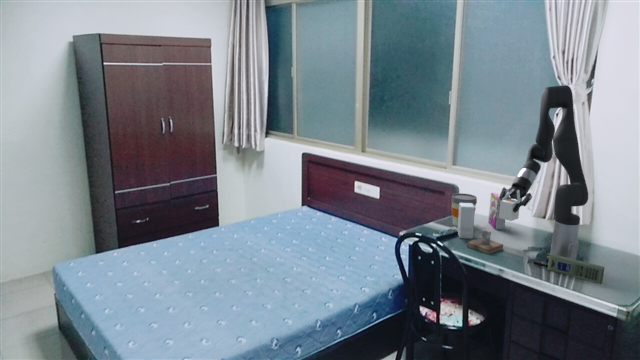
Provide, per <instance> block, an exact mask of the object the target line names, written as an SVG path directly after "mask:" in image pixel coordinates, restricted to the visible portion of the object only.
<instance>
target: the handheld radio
mask: <svg viewBox="0 0 640 360" xmlns="http://www.w3.org/2000/svg"><path fill="white" fill-rule="evenodd" d="M546 258H547V259H546V260H545V263H541V262H538V261H535V260H534V261H533V265H536V266H539V267H543V268H544V267H545V268H546V269H547V271H549V272H550V271H551V272H555V273H557V274H558V273H559V274H560V275H561V274H562V275H565V276H566V275H567V276H570V277H572V276H573V277H574V278H577V279H579V280H584V281H588V282H592V283H596V284H599V285H601V284H602V283H603V280H604V279H603V278H604V275H605V274H604V273H605V270H606V269H605V266H601V265H599V264H594V263H589V262H586V261H582V260H579V259H576V260H574V259H570V258H566V257H562V256H558V255H554V254H550V252H549V253H547V256H546ZM546 263H547V264H546Z"/></svg>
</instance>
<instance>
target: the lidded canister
mask: <svg viewBox="0 0 640 360" xmlns="http://www.w3.org/2000/svg"><path fill="white" fill-rule="evenodd" d="M477 197H478V196H476V195H473V194H470V193H462V192H461V193H453V194H452V195H451V200H450V201H451V206H450V207H451V209H450V211H451V215H452V224H453V225H454V226H455V227H458V216H459V203H473V205H474V207H475V210H476V208H477V207H476V204H477V201H478V199H477Z"/></svg>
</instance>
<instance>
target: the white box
mask: <svg viewBox="0 0 640 360" xmlns="http://www.w3.org/2000/svg"><path fill="white" fill-rule="evenodd" d="M516 203H517V200H516V199H505V200H502V201H500V211H499V218H502V219H505V221H509V222H512V221H515V220H518V219H519V215H520V214H519V213H520V209H519V210H518V211H517V212H516V213H515V212H513V208H514V207H515V205H516Z"/></svg>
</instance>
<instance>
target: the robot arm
mask: <svg viewBox="0 0 640 360" xmlns="http://www.w3.org/2000/svg"><path fill="white" fill-rule="evenodd" d="M573 97H574V96H573V91H572V89H571V86H569V85H567V84H566V85H565V84H564V85H555V86H554V85H553V86H547V87H545V88H544V89H543V90H542V93H541V99H540V109H539V110H540V111H539V123H538V128H537V132H536V135H535V143H534V144H532V145H531V146H529V148H528V152H527V157H526V160H525V163H524V165H523V167H521V169H520V171H519V172H518V174H517V175H516V176H515V179H514V181H513V182H512V184H511V187H509V188H506V187H503V188H502V189H501V192H500V193H501V194H500V196H499V198H500V199H501V201H502V200H505V199H511V200H515V201H517V203H516V205H515V207H514V208H513V212H515V213H516V212H517V211H518V210H519V211H520V208H521V207H526V206H527V205H528V204H529V202H530V201H531V200H532V199H533V195H532V194H531V192H529V191H530V189H531V187H532V185H533V184H534V183H535V180H536V178H537V175H538V174H539V172H540V171H541V167H542V166H541V164H540V163H539V162H541V163H544V164H546V163H549V162H551V160H552V159H553V156H552V155H553V151H554V156H555V157H556V159H557V160H558V162H559V163H560V164H561V166H562V167H563V168H564V170H565V171H566V174H567V175H568V176H567V177H568V180H569V183H568V184H567V183H566V184H560V185H558V187H557V188H556V191H555V196H554V207H553V210H554V211H553V213H554V222H553V223H554V224H553V231H552V239H551V246H550V252H549V254H554V255H558V256H562V257H566V258H570V259H574V260H577V257H578V252H579V251H578V249H579V245H580V241H579V240H578V235H579V228H580V223H581V217H580V216H579V215H578V214H576V213H573V212H572V209H573V208H574V207H583V206H585V205H586V204H587V203H588V200H589V191H588V185H587V182H586V179H585V178H586V177H585V175H584V171H583V165H582V161H581V156H580V155H581V153H580V146H579V141H578V135H577V130H576V123H575V122H576V121H575V112H574V110H575V109H574V98H573ZM560 108H561V110H562V115H561V120H560V122H559V124H558V127H557V128H556V127H555V126H556V125H555V124H554V121H552V118H551V116H550V110H551V109H560ZM528 192H529V193H528ZM499 207H500V204H499ZM572 207H573V208H572Z"/></svg>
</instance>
